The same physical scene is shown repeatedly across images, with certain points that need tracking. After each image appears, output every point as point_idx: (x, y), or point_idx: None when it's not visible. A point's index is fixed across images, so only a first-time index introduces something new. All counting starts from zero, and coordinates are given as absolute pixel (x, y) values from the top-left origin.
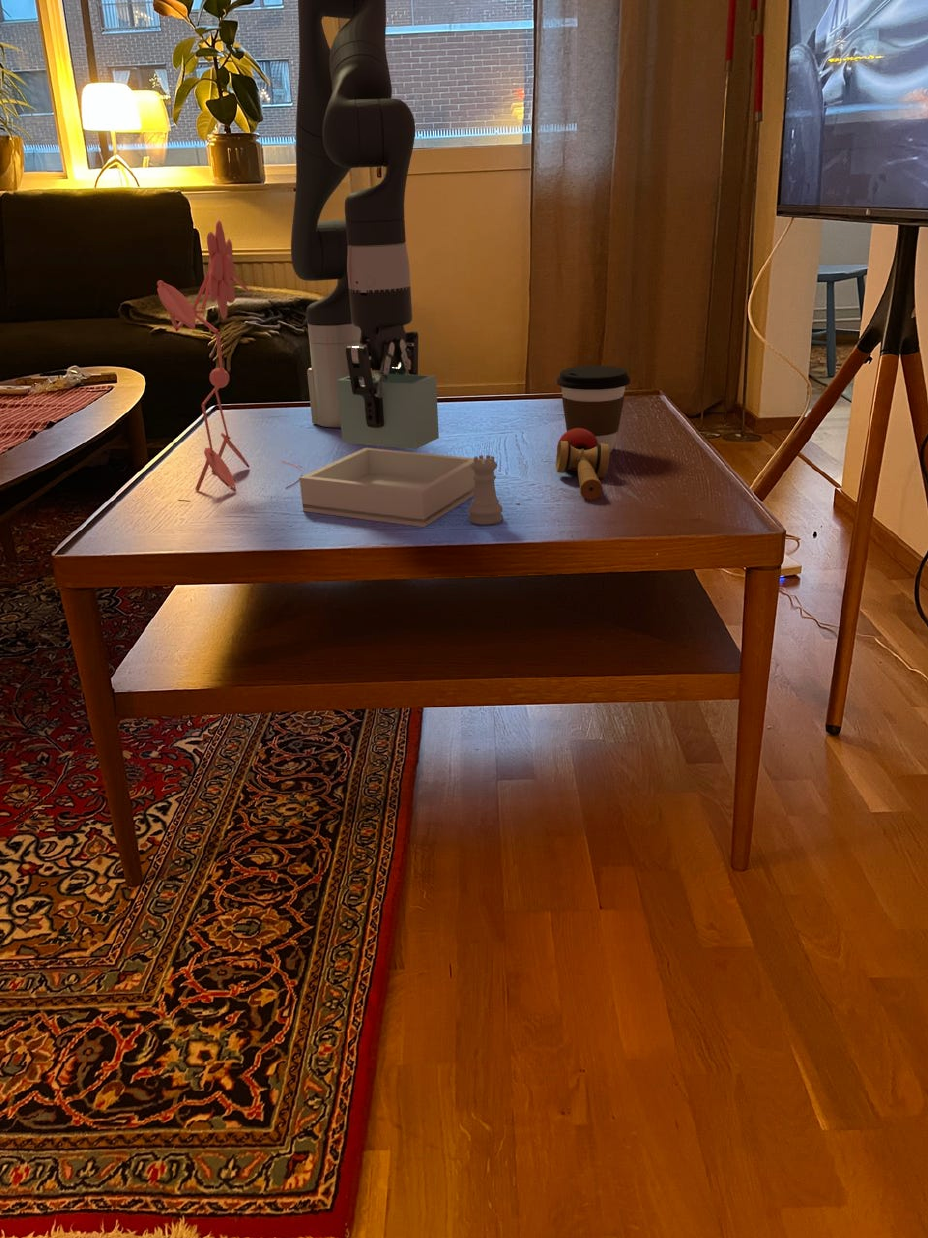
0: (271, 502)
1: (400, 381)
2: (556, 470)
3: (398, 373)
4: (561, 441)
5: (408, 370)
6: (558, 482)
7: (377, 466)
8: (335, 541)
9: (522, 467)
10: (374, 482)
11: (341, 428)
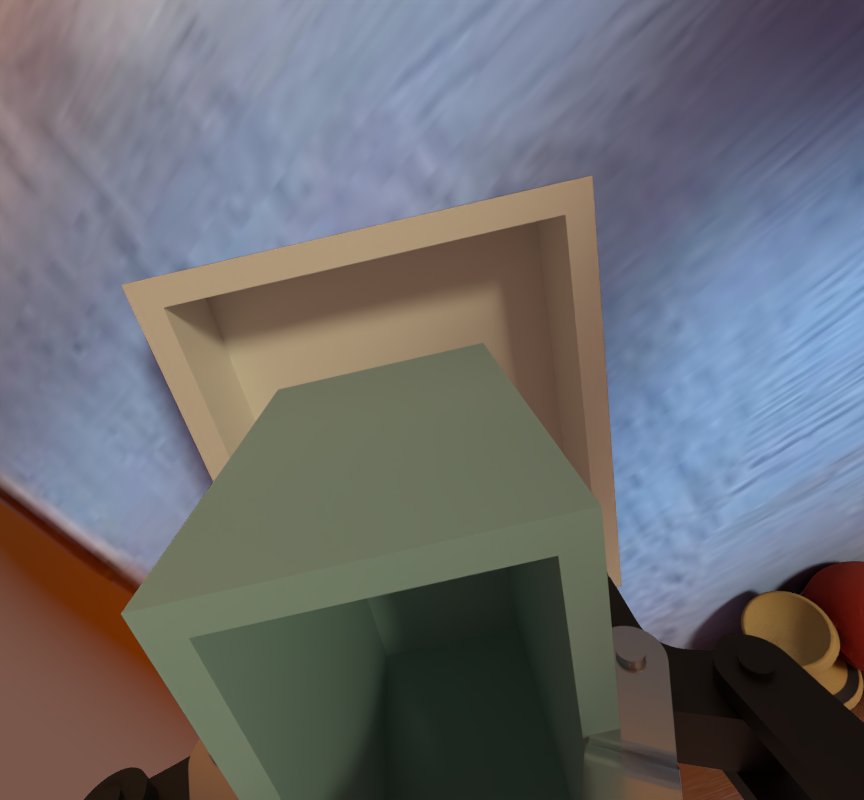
0: (153, 88)
1: (572, 750)
2: (754, 599)
3: (725, 684)
4: (822, 662)
5: (751, 762)
6: (711, 605)
7: (548, 254)
8: (110, 512)
9: (805, 486)
10: (467, 304)
11: (262, 415)
